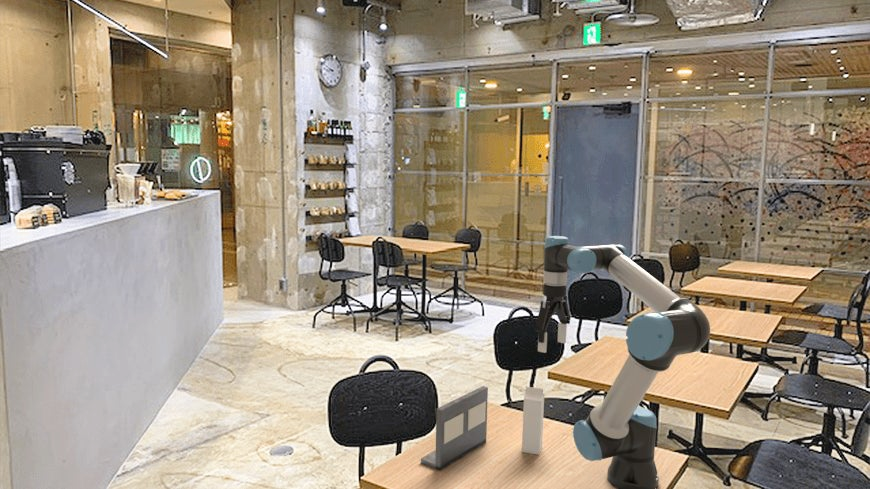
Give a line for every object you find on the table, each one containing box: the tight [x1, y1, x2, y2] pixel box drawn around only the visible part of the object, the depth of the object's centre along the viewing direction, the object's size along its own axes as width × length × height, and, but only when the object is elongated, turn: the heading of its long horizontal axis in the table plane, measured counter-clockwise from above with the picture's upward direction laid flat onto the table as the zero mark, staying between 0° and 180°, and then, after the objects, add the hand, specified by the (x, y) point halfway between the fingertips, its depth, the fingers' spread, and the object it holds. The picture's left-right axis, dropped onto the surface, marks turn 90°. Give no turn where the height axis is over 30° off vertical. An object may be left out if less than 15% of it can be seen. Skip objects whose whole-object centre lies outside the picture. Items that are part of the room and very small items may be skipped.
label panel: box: [420, 385, 489, 471], centre depth 208 cm, size 8×26×20 cm, turn 142°
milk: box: [521, 386, 545, 455], centre depth 211 cm, size 6×6×22 cm
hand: (552, 347), depth 206 cm, fingers open, 13 cm apart
